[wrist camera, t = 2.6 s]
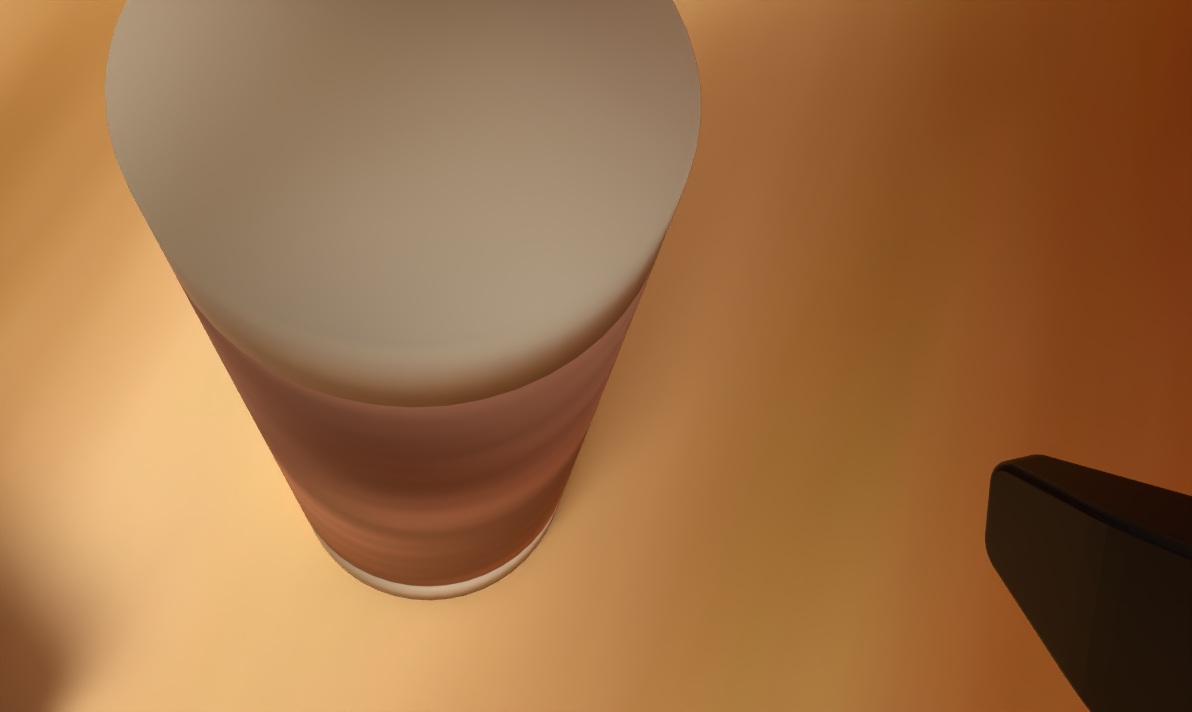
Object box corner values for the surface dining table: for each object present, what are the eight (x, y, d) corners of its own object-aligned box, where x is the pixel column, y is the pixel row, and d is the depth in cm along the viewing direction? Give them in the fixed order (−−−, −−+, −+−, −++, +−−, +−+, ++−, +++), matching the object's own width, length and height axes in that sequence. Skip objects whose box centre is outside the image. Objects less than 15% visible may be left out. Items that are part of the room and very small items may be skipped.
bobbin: (597, 406, 21) (769, -25, 10) (502, 641, 19) (581, 440, 8) (371, 315, 22) (282, -218, 10) (254, 539, 20) (-23, 196, 8)
